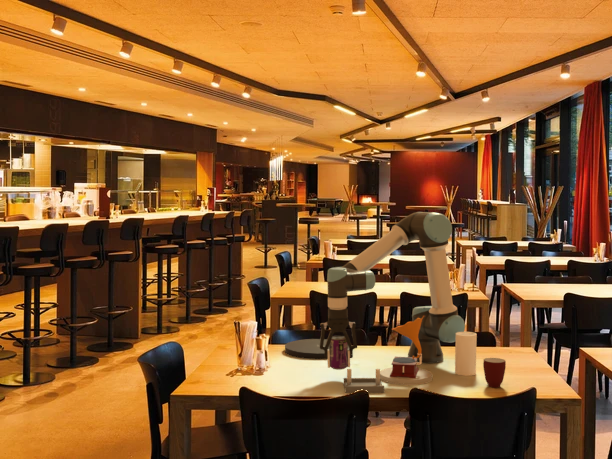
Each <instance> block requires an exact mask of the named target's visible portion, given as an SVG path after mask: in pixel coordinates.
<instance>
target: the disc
mask: <svg viewBox="0 0 612 459" xmlns="http://www.w3.org/2000/svg"><path fill="white" fill-rule="evenodd" d="M320 339H321V338H307V339H297V340H292V341H289V342H287V343H285V345H284V352H285V354H286V355H288V356H291V357H293V358H298V359H299V358H300V359H307V360H308V359H309V360H326V359H325V352H324V350H323V349H320ZM327 339H328V338H326V339H325V338H324V344H323V346H325V345H326V342H327ZM328 349H329V347H328ZM348 349H349V346H348Z"/></svg>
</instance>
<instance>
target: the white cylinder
mask: <svg viewBox="0 0 612 459" xmlns="http://www.w3.org/2000/svg"><path fill="white" fill-rule="evenodd" d="M477 338H478V336H477V333H476V332H472V331H464V332H457V333H456V341H455V342H454V343H455V349H454V350H455V351H454V353H455V354H454V357H455V358H454V374H456V375H459V376H464V377H465V376H467V377H468V376H474V375H475V376H476V374H477Z"/></svg>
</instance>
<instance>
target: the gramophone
mask: <svg viewBox="0 0 612 459" xmlns="http://www.w3.org/2000/svg"><path fill="white" fill-rule="evenodd" d="M423 317H424V316H423ZM423 317H422V318H421V319H420V318H417V319H416V320H415V321H413V322H412V321H407V322H406V323H405V324H403V325H398V326H396V327H393V328H391V330H392V331H394V332H396V333H398V334H400V335H401V336H403V337H406V338H407V339H409V340H411V343H412V342H413V343H414V344H415V346H416V347H417V349H418V356H417V357H414V356H413V357H408V356H394V358H393V359H392V362H391V364H390V365H392V367H386V368H384V369H382V370H381V369H380V378H381V381H383V382H385V383H389V382H390V384H395V385H408V386H409V385H421V384H427V383H430V382H432V380H433V373H432V372H431V371H430V370H427V369H424V368H420V367H418V366H420V365H421V364H423V363H422V354H421V345H420V342H419V339H418V334H419V330H420V327H421V322H422V319H423ZM420 355H421V356H420ZM419 357H420V358H419ZM417 358H419V360H420V362H416V361H417ZM417 365H418V366H417Z"/></svg>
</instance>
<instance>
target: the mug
mask: <svg viewBox="0 0 612 459" xmlns="http://www.w3.org/2000/svg"><path fill="white" fill-rule="evenodd" d="M482 364H483V365H482V366H483V372H484V373H483V374H484V378H485V379H484V380H485V382H486V384H487V386H488V387H489V388H492V389H493V388H494V389H496V388H500V387H501V385H502V384H503V381H504V378H505V373H506V367H507V366H506V364H507V363H506V359H504V358H500V357H486V358H484V359H483V363H482Z"/></svg>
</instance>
